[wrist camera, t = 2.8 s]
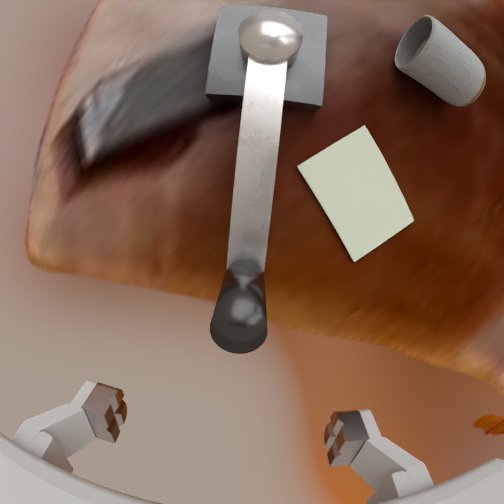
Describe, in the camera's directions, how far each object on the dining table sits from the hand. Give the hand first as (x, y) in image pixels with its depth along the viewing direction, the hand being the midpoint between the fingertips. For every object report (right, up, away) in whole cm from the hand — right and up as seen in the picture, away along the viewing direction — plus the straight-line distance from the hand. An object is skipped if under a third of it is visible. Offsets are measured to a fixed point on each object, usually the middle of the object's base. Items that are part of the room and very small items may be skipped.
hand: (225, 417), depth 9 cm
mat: (+11, +12, +17) cm, 23 cm away
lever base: (+2, +25, +13) cm, 28 cm away
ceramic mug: (+20, +27, +12) cm, 36 cm away
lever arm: (+1, +14, +13) cm, 20 cm away
